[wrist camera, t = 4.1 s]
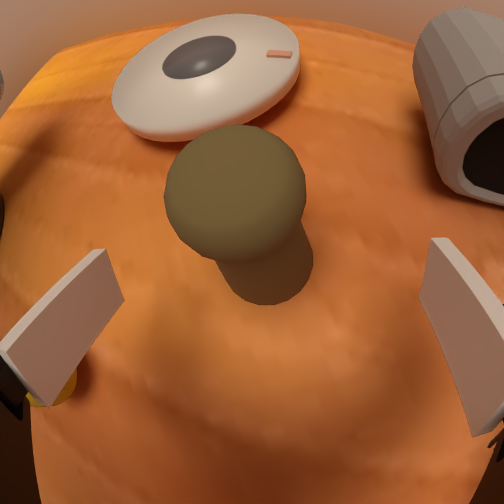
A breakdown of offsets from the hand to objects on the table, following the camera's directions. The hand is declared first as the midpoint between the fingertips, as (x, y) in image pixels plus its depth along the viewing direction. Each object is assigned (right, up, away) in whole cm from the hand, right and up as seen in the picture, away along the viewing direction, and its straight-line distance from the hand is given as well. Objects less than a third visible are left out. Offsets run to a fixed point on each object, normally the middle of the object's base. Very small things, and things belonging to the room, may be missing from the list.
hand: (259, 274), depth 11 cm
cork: (+1, 0, +9) cm, 9 cm away
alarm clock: (+22, +8, +7) cm, 25 cm away
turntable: (-5, +18, +13) cm, 23 cm away
